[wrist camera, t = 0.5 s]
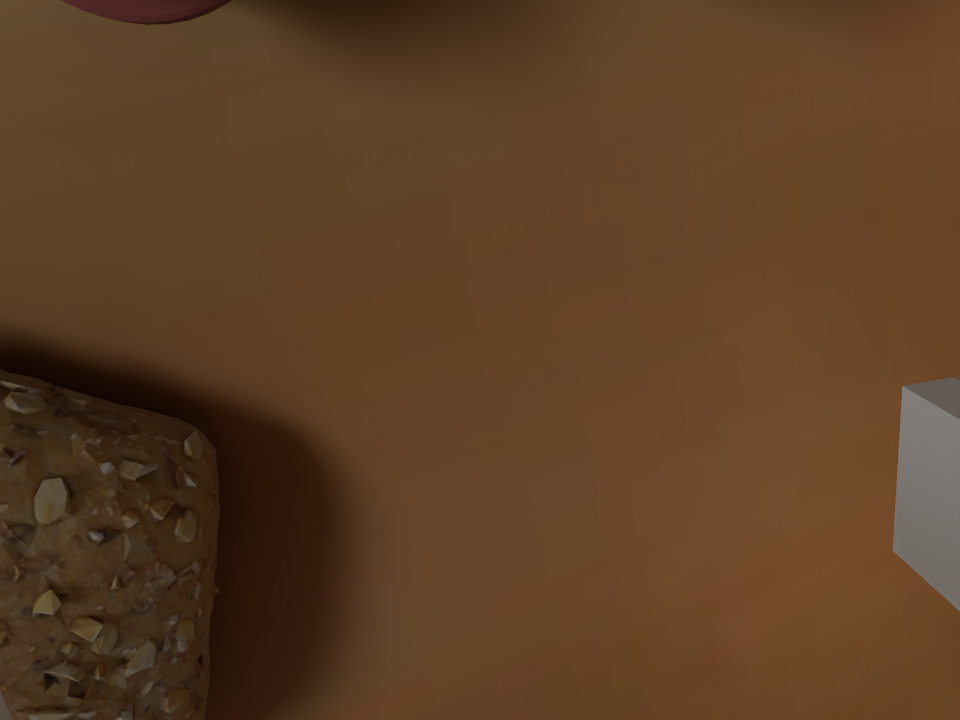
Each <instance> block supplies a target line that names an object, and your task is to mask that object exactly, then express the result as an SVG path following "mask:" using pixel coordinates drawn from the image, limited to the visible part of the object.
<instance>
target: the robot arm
mask: <svg viewBox="0 0 960 720" xmlns="http://www.w3.org/2000/svg"><path fill="white" fill-rule="evenodd" d="M893 551H894V552H895V553H896V554H897V555H898V556H899V557H900V558H902V559H903V560H904V561H905V562H906V563H907V564H908V565H909V566H910V567H912V568H913V569H914V570H915V571H916V572H917V573H918V574H919V575H920V576H921V577H923V578H924V579H925V580H926V581H927V582H928V583H929V584H930V585H931V586H933V587H934V588H935V589H936V590H937V591H938V592H939V593H940V594H941V595H943V596H944V597H945V598H946V599H947V600H948V601H949V602H950V603H951V604H952V605H954V606H955V607H956V608H957V609H958V610H959V611H960V381H959V380H957V379H955V378H954V377H951V378H946V379H940V380H935V381H929V382H923V383H918V384H912V385H907V386H903V387H902V404H901V421H900V438H899V455H898V472H897V489H896V506H895V523H894V540H893ZM0 720H12V718H11V715H10V713H9V710H8V708H7V706H6V703H5V701H4V699H3V696H2V694H1V692H0Z"/></svg>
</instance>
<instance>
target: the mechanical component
mask: <svg viewBox="0 0 960 720" xmlns="http://www.w3.org/2000/svg"><path fill="white" fill-rule="evenodd" d="M62 1H64V2H66V3H68V4H70V5H72V6H74V7H77V8H79V9H81V10H83V11H86V12H89V13H93V14H96V15H99V16H102V17H105V18H109V19H114V20H118V21H123V22H129V23H138V24H146V25H149V24H171V23H176V22H182V21H187V20H191V19H194V18H197V17H200V16H202V15H205V14H208V13H210V12H212V11H214V10H216V9H218V8H220V7H221V6H223V5H225V4H227V3H228V2H230V1H231V0H62Z"/></svg>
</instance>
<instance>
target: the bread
mask: <svg viewBox="0 0 960 720" xmlns="http://www.w3.org/2000/svg"><path fill="white" fill-rule="evenodd" d="M217 459H218V453H217V452H216V450H215V449H214V447H213V446H212V444H211V443H210V442H209V440H208V439H207V437H206V436H205V435H204V433H203V432H202V431H200V430H199V429H197V428H196V427H194V426H193V425H191V424H189V423H187V422H185V421H183V420H181V419H178V418H174V417H170V416H167V415H163V414H160V413H156V412H152V411H149V410H145V409H141V408H136V407H130V406H124V405H120V404H117V403H113V402H110V401H107V400H103V399H100V398H96V397H93V396H89V395H86V394H82V393H78V392H75V391H72V390H68V389H65V388H62V387H59V386H56V385H53V384H51V383H48V382H45V381H42V380H40V379H37V378H34V377H29V376H24V375H19V374H14V373H8V372H6V371H5V370H3V369H1V368H0V692H1V694H2V696H3V699H4V701H5V703H6V706H7V708H8V710H9V713H10V715H11V718H12V720H208V719H207V717H206V715H205V709H206V703H207V696H208V688H209V679H210V654H209V628H210V619H211V612H212V610H213V606H214V599H215V595H216V594H217V593H218V592H219V591H220V590H219V589H218V588H217V587H216V585H215V581H214V574H215V571H216V568H217V543H218V526H219V516H220V505H219V492H218V491H219V478H218V469H217Z"/></svg>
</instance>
